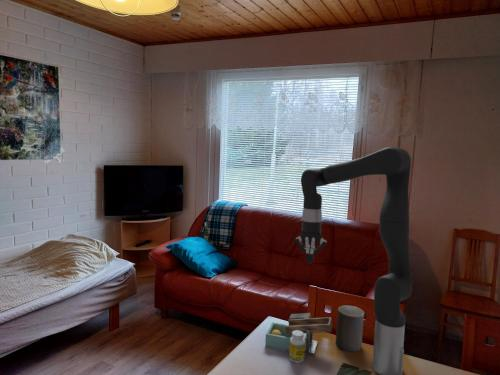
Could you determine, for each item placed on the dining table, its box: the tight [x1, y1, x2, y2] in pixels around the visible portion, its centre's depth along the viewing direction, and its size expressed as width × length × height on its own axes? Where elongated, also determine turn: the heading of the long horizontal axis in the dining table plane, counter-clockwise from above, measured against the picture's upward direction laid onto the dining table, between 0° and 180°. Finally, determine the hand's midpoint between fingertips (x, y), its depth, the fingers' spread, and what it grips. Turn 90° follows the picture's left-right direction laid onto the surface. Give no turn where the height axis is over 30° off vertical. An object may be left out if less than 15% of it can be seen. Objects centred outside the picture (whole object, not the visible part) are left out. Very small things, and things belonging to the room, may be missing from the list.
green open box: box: [264, 322, 292, 353], centre depth 139 cm, size 10×10×5 cm
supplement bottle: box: [288, 330, 306, 364], centre depth 129 cm, size 5×5×10 cm
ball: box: [271, 330, 281, 336], centre depth 140 cm, size 4×4×4 cm
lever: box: [285, 312, 334, 334], centre depth 140 cm, size 18×15×3 cm
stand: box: [304, 329, 318, 357], centre depth 136 cm, size 5×9×9 cm, turn 162°
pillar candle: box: [334, 304, 365, 352], centre depth 139 cm, size 10×10×15 cm
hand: (309, 262), depth 146 cm, fingers closed
